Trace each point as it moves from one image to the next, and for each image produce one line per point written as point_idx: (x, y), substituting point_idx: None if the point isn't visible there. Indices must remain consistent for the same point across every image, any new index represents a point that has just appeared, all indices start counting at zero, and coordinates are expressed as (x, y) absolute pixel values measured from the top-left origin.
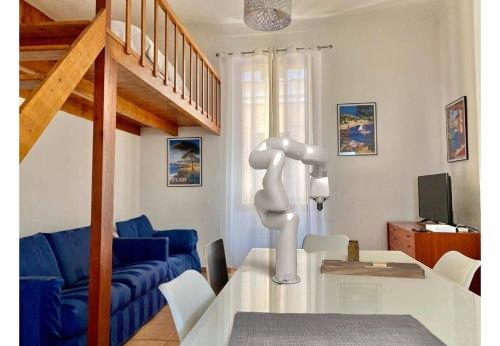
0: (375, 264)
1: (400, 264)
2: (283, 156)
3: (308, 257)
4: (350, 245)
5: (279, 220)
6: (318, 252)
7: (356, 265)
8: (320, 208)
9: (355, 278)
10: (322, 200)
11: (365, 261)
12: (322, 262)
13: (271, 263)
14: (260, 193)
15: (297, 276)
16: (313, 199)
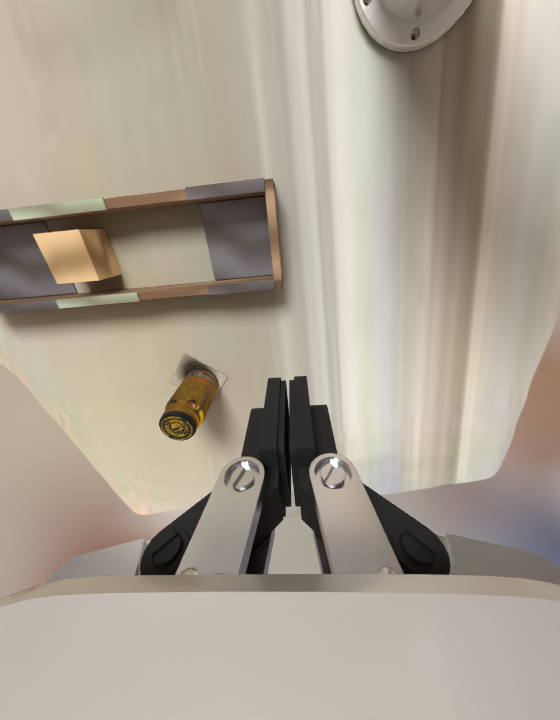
0: (70, 230)
1: (23, 302)
2: None
3: (337, 410)
4: (190, 405)
5: None
6: None
7: (165, 288)
8: (277, 392)
9: (141, 137)
10: (228, 504)
11: (128, 295)
12: (275, 237)
13: (464, 298)
14: None
15: (368, 6)
16: (435, 534)
